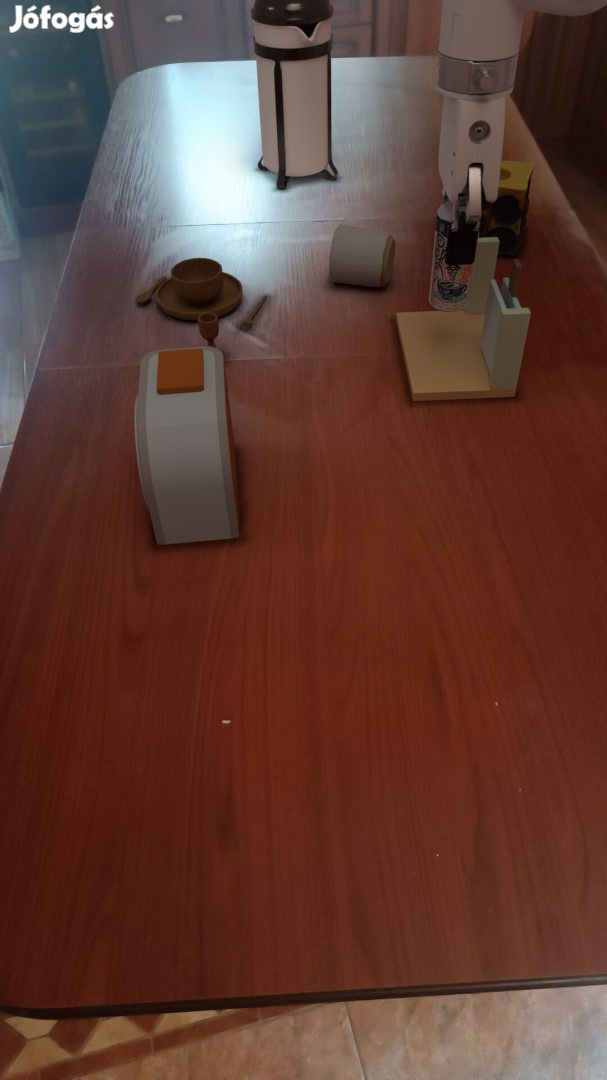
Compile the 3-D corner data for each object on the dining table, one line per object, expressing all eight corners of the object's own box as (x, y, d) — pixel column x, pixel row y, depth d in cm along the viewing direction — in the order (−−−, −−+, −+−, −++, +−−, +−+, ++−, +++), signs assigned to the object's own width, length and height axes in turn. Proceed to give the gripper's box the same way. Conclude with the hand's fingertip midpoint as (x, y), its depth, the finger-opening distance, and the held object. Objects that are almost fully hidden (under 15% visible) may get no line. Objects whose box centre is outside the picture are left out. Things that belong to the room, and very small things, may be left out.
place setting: (275, 289, 113) (273, 249, 109) (223, 367, 100) (218, 326, 96) (162, 274, 117) (156, 235, 113) (98, 347, 104) (88, 306, 100)
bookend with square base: (485, 316, 106) (497, 236, 99) (514, 397, 94) (531, 313, 86) (395, 320, 106) (400, 241, 99) (412, 401, 94) (419, 317, 86)
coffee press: (356, 162, 144) (360, -41, 122) (315, 197, 134) (312, -17, 112) (272, 148, 150) (261, -48, 128) (227, 180, 140) (208, -26, 118)
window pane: (497, 343, 99) (513, 247, 90) (509, 376, 94) (527, 279, 85) (492, 343, 99) (508, 247, 90) (504, 376, 94) (522, 279, 85)
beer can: (427, 313, 94) (437, 212, 85) (429, 293, 97) (438, 193, 88) (468, 316, 93) (482, 214, 84) (469, 295, 96) (483, 195, 88)
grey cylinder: (385, 298, 110) (388, 244, 105) (327, 291, 112) (327, 238, 107) (398, 263, 118) (402, 211, 112) (344, 257, 119) (345, 206, 114)
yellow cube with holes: (525, 228, 124) (537, 161, 117) (517, 258, 117) (529, 189, 110) (459, 221, 126) (467, 155, 119) (448, 250, 120) (455, 182, 112)
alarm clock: (158, 449, 89) (136, 343, 79) (234, 443, 90) (222, 337, 80) (154, 545, 79) (128, 437, 69) (240, 537, 79) (226, 429, 69)
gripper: (535, 99, 71) (503, 288, 84) (497, 44, 83) (474, 217, 96) (451, 103, 71) (432, 291, 84) (425, 47, 83) (412, 219, 96)
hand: (455, 250), depth 90 cm, fingers closed on beer can, 4 cm apart
